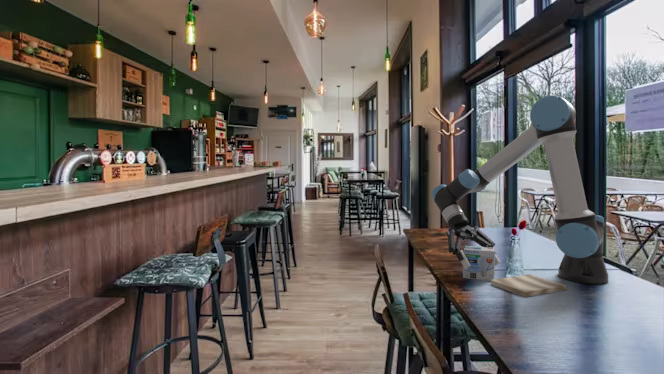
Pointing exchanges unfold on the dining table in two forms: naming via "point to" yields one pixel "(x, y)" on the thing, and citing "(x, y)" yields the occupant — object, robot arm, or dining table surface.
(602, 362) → the dining table surface
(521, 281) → the birch board
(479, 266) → the light bulb box
